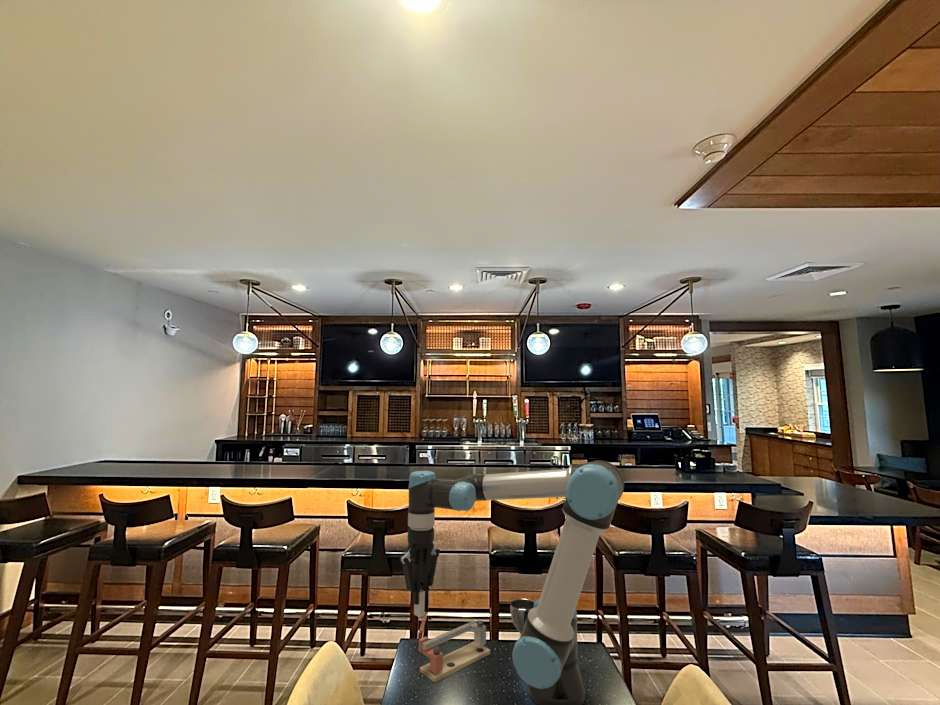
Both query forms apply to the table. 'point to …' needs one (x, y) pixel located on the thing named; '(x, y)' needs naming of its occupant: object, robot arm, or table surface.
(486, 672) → the table surface
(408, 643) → the table surface
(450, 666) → the bolt plate
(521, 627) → the wine glass
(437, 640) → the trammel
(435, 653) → the slide leg
